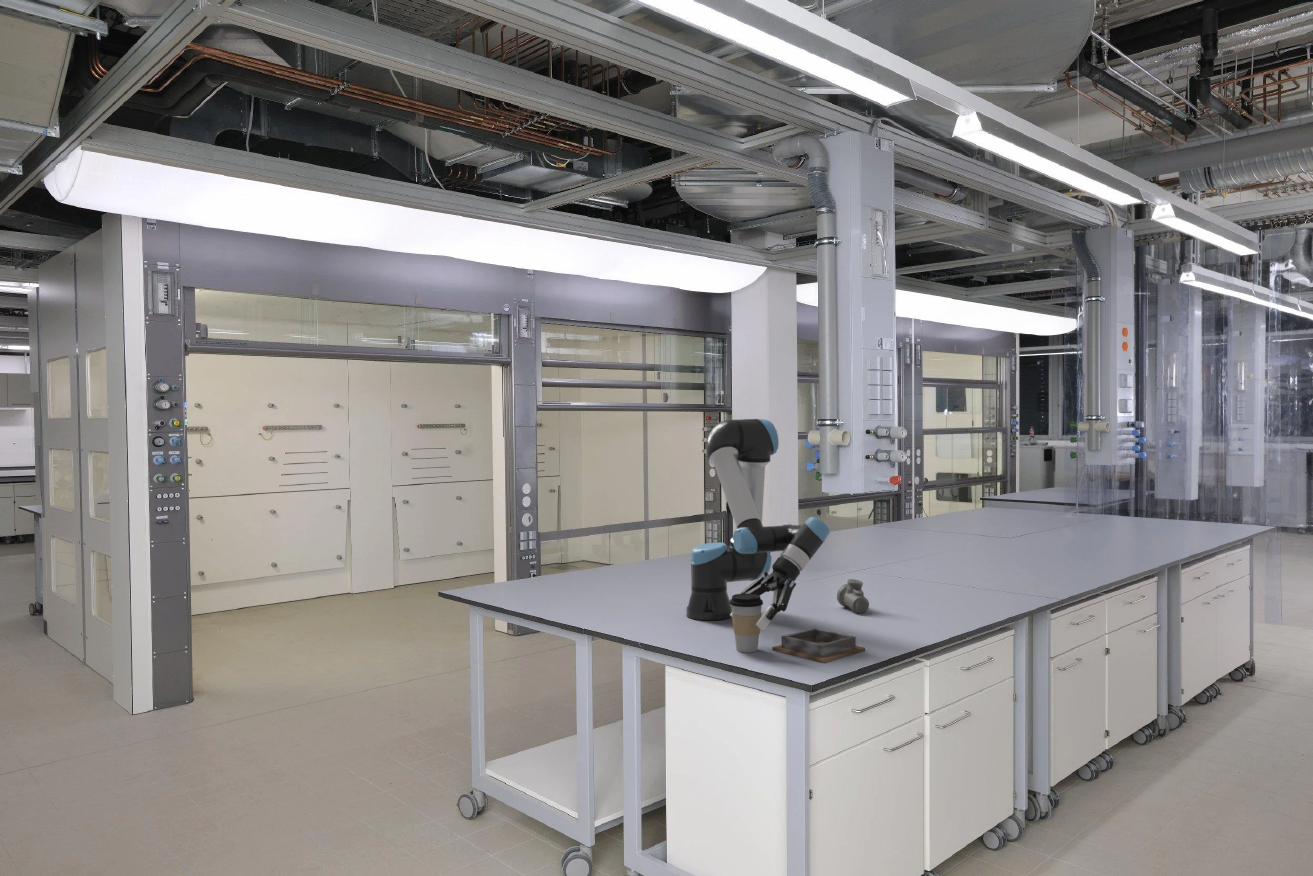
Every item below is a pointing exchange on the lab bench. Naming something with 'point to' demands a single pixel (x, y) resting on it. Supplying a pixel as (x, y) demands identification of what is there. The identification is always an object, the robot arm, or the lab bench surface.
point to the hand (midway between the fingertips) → (746, 623)
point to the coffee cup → (746, 621)
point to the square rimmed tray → (818, 645)
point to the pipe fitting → (853, 596)
